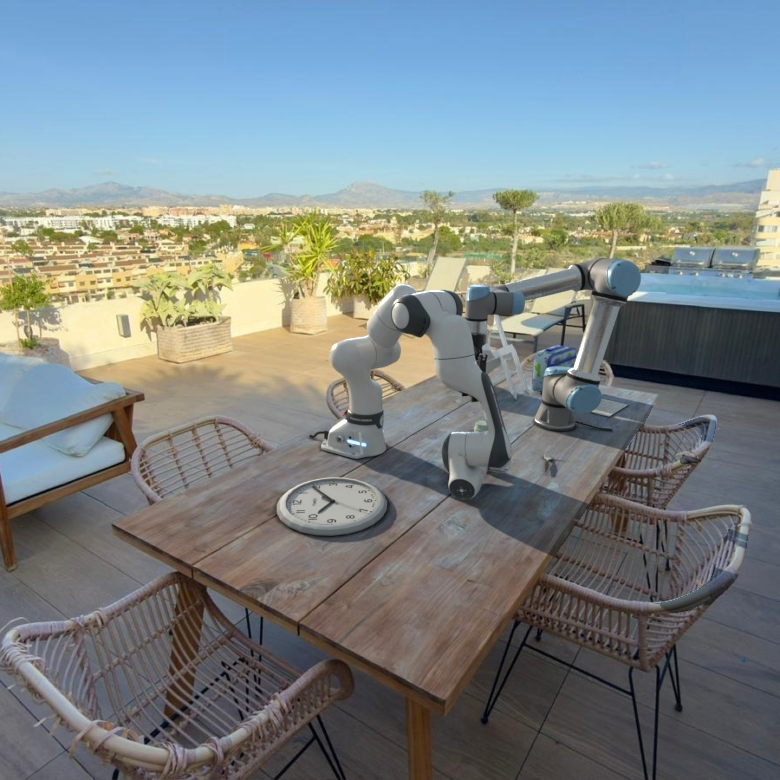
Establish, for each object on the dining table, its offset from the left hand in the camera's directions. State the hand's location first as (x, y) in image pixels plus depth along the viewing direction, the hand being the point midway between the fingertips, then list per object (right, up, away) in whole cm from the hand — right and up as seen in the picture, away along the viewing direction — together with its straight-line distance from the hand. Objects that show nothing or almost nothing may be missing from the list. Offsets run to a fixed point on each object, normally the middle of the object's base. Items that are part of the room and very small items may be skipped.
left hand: (481, 448), depth 166 cm
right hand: (-1, +16, +14) cm, 21 cm away
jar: (0, -6, +1) cm, 6 cm away
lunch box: (+48, +18, +82) cm, 96 cm away
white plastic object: (+13, +17, +77) cm, 80 cm away
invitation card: (+62, +11, +60) cm, 87 cm away
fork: (+22, -6, +4) cm, 23 cm away
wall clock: (-45, -13, -24) cm, 52 cm away
